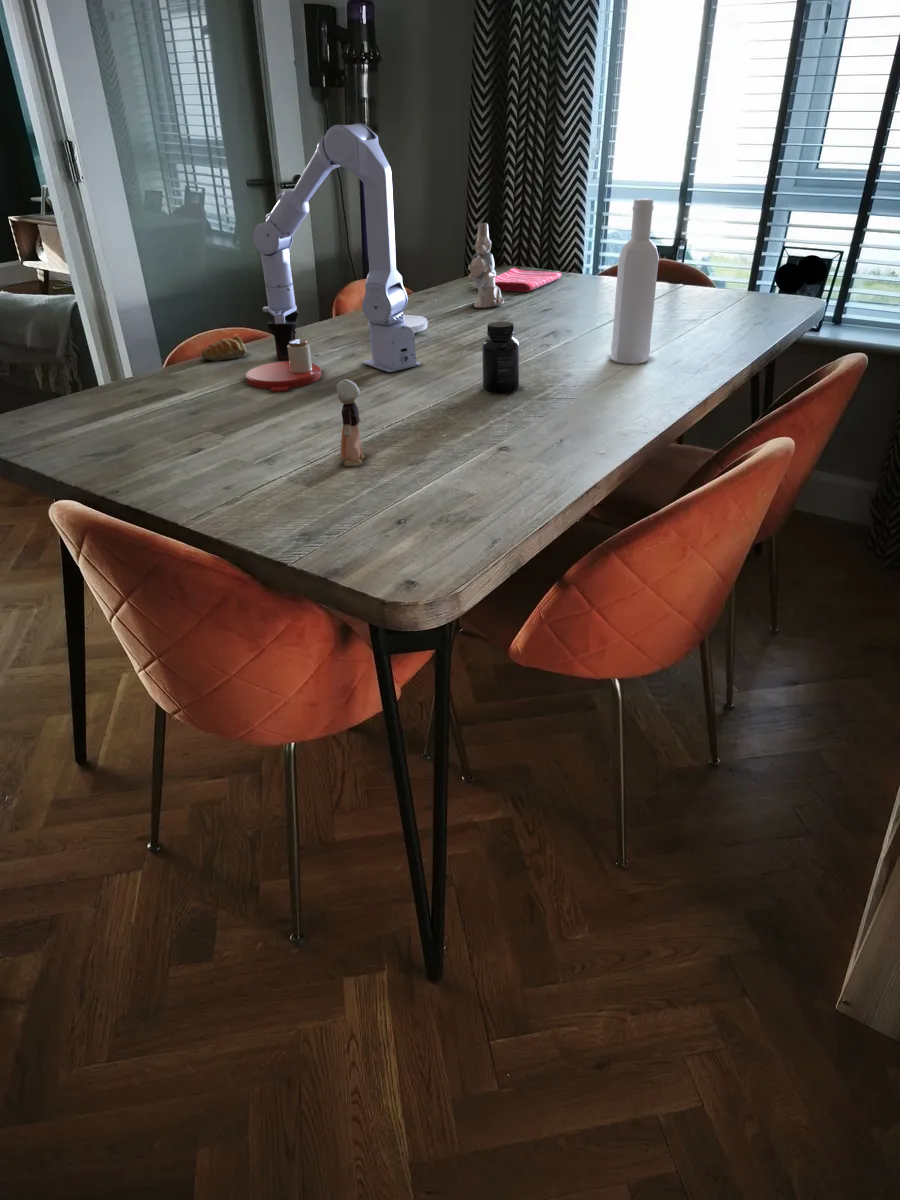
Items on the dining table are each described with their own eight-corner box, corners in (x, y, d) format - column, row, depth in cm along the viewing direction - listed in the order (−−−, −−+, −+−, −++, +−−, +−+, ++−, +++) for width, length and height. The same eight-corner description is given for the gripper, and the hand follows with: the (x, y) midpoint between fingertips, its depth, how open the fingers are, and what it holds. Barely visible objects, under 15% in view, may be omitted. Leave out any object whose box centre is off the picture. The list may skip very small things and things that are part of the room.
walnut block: (298, 359, 174) (295, 335, 172) (277, 360, 174) (274, 336, 171) (299, 353, 178) (296, 330, 175) (279, 354, 178) (276, 331, 175)
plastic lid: (359, 337, 189) (358, 326, 188) (385, 323, 200) (384, 313, 199) (413, 341, 184) (412, 330, 183) (436, 327, 195) (436, 316, 194)
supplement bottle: (522, 385, 154) (524, 320, 148) (513, 395, 149) (514, 329, 142) (488, 382, 156) (488, 318, 150) (478, 393, 151) (477, 327, 144)
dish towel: (476, 289, 233) (476, 279, 232) (512, 275, 250) (512, 266, 249) (529, 293, 226) (529, 283, 224) (562, 278, 243) (563, 269, 242)
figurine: (483, 301, 219) (482, 220, 209) (509, 304, 215) (509, 222, 205) (464, 307, 213) (463, 225, 203) (490, 310, 209) (490, 226, 199)
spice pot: (316, 370, 162) (313, 341, 159) (297, 374, 159) (293, 345, 156) (305, 365, 165) (301, 337, 162) (286, 370, 162) (282, 341, 159)
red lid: (251, 369, 168) (250, 362, 168) (323, 365, 169) (322, 359, 169) (240, 393, 154) (239, 386, 154) (318, 389, 155) (317, 382, 154)
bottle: (656, 358, 167) (673, 198, 151) (636, 366, 162) (651, 202, 147) (623, 351, 172) (636, 196, 156) (602, 360, 167) (614, 200, 151)
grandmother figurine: (342, 453, 126) (333, 373, 120) (366, 452, 127) (359, 372, 120) (340, 472, 120) (331, 389, 113) (366, 471, 120) (358, 387, 113)
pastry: (210, 364, 173) (206, 346, 171) (197, 358, 177) (193, 340, 175) (249, 355, 178) (246, 338, 176) (236, 350, 182) (233, 333, 180)
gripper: (263, 279, 174) (272, 342, 181) (255, 292, 162) (265, 360, 169) (296, 277, 174) (304, 341, 181) (290, 291, 162) (299, 358, 169)
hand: (287, 350), depth 175 cm, fingers open, 7 cm apart
